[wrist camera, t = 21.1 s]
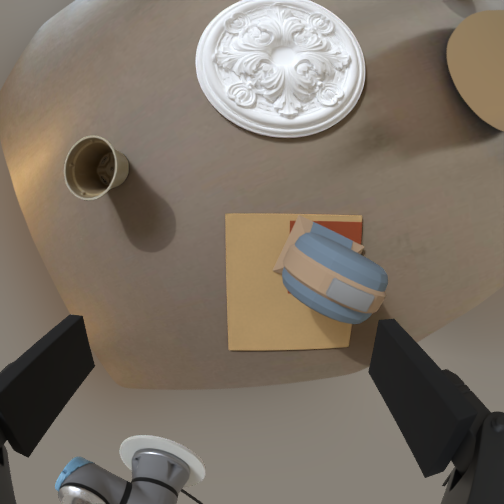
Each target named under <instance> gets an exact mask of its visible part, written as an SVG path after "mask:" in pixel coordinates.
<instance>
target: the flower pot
mask: <svg viewBox="0 0 504 504" xmlns="http://www.w3.org/2000/svg"><path fill="white" fill-rule="evenodd" d="M105 157H107V159H106V160H105V161H104V163H102V162H103V160H104V158H105ZM111 168H113V170H111ZM128 172H129V164H128V160H127V158H126V157H125V155H124V154H122V153H121V152H119V151H117V150H115V149H114V148H113V146H112V145H111V143H110V142H109V141H107V140H106V139H104V138H102V137H100V136H87V137H84V138H82V139H80V140H79V141H78V142H77V143H75V144H74V146H73V147H72V148H71V149H70V151H69V153H68V155H67V157H66V160H65V165H64V178H65V182H66V185H67V187H68V189H69V190H70V192H71V193H72V194H73V195H75V196H76V197H77V198H79V199H82V200H86V201H91V200H95V199H98V198H100V197H102V196H103V195H105V194H106V193H107V192H108V191H109V189H112V188H114V187H117V186H119V185H121V184H122V183H123V182H124V181H125V179H126V178H127V175H128ZM102 177H103V178H104V179H105V181H107V183H105V182H104V181H103V180H102Z"/></svg>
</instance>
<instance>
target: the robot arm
mask: <svg viewBox="0 0 504 504" xmlns="http://www.w3.org/2000/svg"><path fill="white" fill-rule="evenodd" d="M94 367H95V365H94V361H93V357H92V353H91V350H90V346H89V342H88V337H87V333H86V329H85V324H84V320H83V316H79V315H69V316H67V317H66V318H65V319H64V320H63V321H62V322H60V323H59V324H58V325H57V326H55V327H54V328H53V329H52V330H51V331H49V332H48V333H47V334H46V335H45V336H43V338H41V339H40V340H39V341H38V342H36V343H35V344H34V345H33V346H32V347H31V348H30V349H28V350H27V351H26V352H25V353H24V354H23V355H21V356H20V357H19V358H18V359H17V360H16V361H14V362H12V363H10V364H9V365H7V366H6V367H5V368H4V369H3V370H2V371H1V372H0V504H16V500H15V496H14V491H13V486H12V481H11V475H10V468H9V462H8V453H7V450H6V447H5V446H4V443H5V442H6V440H8V442H9V443H10V445H11V446H12V448H13V449H14V451H16V452H18V453H20V454H22V455H24V456H26V457H29V456H30V455H31V453H32V452H33V450H34V449H35V447H36V446H37V444H38V443H39V442H40V440H41V439H42V437H43V436H44V434H45V433H46V432H47V430H48V429H49V427H50V426H51V424H52V423H53V422H54V420H55V419H56V417H57V416H58V415H59V413H60V412H61V411H62V409H63V408H64V406H65V405H66V404H67V402H68V401H69V400H70V398H71V397H72V396H73V394H74V393H75V392H76V390H77V389H78V388H79V386H80V385H81V384H82V382H83V381H84V380H85V378H86V377H87V376H88V374H89V373H90V372H91V371H92V369H93V368H94ZM369 374H370V375H371V377H372V379H373V381H374V383H375V385H376V387H377V388H378V390H379V392H380V394H381V395H382V397H383V399H384V401H385V403H386V405H387V406H388V408H389V410H390V412H391V414H392V415H393V417H394V419H395V421H396V423H397V425H398V426H399V428H400V430H401V432H402V434H403V436H404V438H405V440H406V442H407V444H408V446H409V447H410V449H411V451H412V453H413V455H414V457H415V459H416V461H417V463H418V465H419V467H420V469H421V471H422V473H423V475H424V477H425V478H426V477H429V476H432V475H435V474H438V473H440V472H443V471H444V470H445V469H446V467H447V465H448V464H449V462H450V461H452V462H453V464H454V466H455V468H454V469H453V470H452V472H451V473H450V475H449V476H448V477H447V479H446V480H445V482H444V483H443V485H442V486H445V485H446V484H447V482H448V481H449V482H448V485H447V488H446V491H445V494H444V496H443V499H442V502H441V504H504V413H503V412H492V413H491V412H490V411H489V410H488V409H487V408H486V407H485V405H484V404H483V403H482V402H481V401H480V400H479V399H478V398H477V397H476V395H475V394H474V393H473V392H472V391H470V389H469V388H468V386H467V385H464V382H463V381H462V380H461V379H460V378H459V377H458V376H457V375H456V374H454V373H452V372H451V371H449V370H446V369H445V370H441V369H440V368H439V367H438V366H437V365H436V363H435V362H434V361H433V360H432V359H431V358H430V357H429V356H428V355H427V354H426V352H425V351H423V349H422V348H421V347H420V346H419V345H418V344H417V343H416V342H415V341H414V339H413V338H412V337H411V336H410V335H409V334H408V333H407V332H406V331H405V330H404V329H403V328H402V327H401V326H400V325H399V324H398V323H397V322H396V320H395V319H386V320H379V322H378V327H377V333H376V338H375V343H374V348H373V353H372V358H371V363H370V367H369ZM131 464H132V482H131V483H130V482H128V481H126V480H124V479H122V478H120V477H118V476H116V475H114V474H112V473H111V472H109V471H107V470H105V469H103V468H101V467H100V466H98V465H96V464H95V463H93V462H90V461H88V460H86V459H85V458H82V457H75V458H73V459H72V460H71V461H70V462H69V463H68V464H67V465H66V467H65V468H64V470H63V471H62V472H61V474H60V475H59V477H58V479H57V481H56V484H55V488H56V490H57V491H58V498H59V500H60V502H61V504H176V503H177V498H178V493H179V492H180V491H181V492H183V493H184V494H186V495H188V496H189V497H190V498H192V499H193V500H195V501H196V502H197V503H199V504H203V503H201V502H200V501H199V500H197V499H196V498H195V497H193V496H192V495H190V494H189V493H187V492H186V491H184V490H183V489H182V488H183V487H184V485H185V484H186V482H187V481H188V480H189V476H190V468H189V466H188V465H187V463H186V462H185V461H183V460H182V459H181V458H179V457H178V456H176V455H174V454H172V453H169V452H166V451H163V450H159V449H153V448H144V449H140V450H137V451H136V452H135V453H134V455H133V457H132V460H131Z"/></svg>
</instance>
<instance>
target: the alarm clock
mask: <svg viewBox="0 0 504 504" xmlns="http://www.w3.org/2000/svg"><path fill="white" fill-rule="evenodd" d="M363 249H364V246H362V245H360V244H358V243H356V242H354V241H352V240H350V239H348V238H346V237H344V236H342V235H340V234H338V233H336V232H334V231H332V230H330V229H328V228H326V227H323V226H321V225H319V224H317V223H315V222H313V221H311V220H309V219H307V218H305V217H302V216H300V215H298V218H297V220H296V222H295V224H294V226H293V228H292V230H291V233H290V235H289V237H288V239H287V241H286V243H285V245H284V247H283V250H282V252H281V254H280V256H279V258H278V260H277V262H276V264H275V266H274V268H273V271H275V272H277V273H279V274H282V279H283V284H284V286H285V287H286V289H287V290H288V291H289V292H290V293H291V294H292V295H293V296H294V297H295V298H297V299H298V300H299V301H300V302H302V303H303V304H305V305H306V306H308V307H309V308H311V309H313V310H314V311H316V312H318V313H320V314H322V315H324V316H326V317H329V318H331V319H334V320H337V321H340V322H344V323H349V324H359V323H361V322H363V321H365V320H367V319H368V318H369V317H370V316H371V314H372V313H375V312H377V311H378V309H379V307H380V306H381V304H382V302H383V300H384V299H385V297H386V293H385V289H386V287H387V284H388V278H387V274H386V272H385V271H384V269H383V268H382V267H380V266H379V265H378V264H376V263H374V262H373V261H371V260H369V259H368V258H366V257H364V256H362V255H361V253H362V251H363Z"/></svg>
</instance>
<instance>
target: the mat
mask: <svg viewBox="0 0 504 504" xmlns="http://www.w3.org/2000/svg"><path fill="white" fill-rule="evenodd" d="M298 215H300V216H302V217H305V218H307V219H309V220H311V221H313V222H315V223H317V224H319V225H321V226H323V227H326V228H328V229H330V230H332V231H334V232H336V233H338V234H340V235H342V236H344V237H346V238H348V239H350V240H352V241H354V242H356V243H358V244H360V245H361V234H362V216H359V215H325V214H225V224H226V280H227V316H228V345H229V350H302V349H324V348H340V347H349V341H350V334H351V327H352V324H349V323H344V322H340V321H337V320H334V319H331V318H329V317H326V316H324V315H322V314H320V313H318V312H316V311H314V310H313V309H311V308H309V307H308V306H306V305H305V304H303V303H302V302H300V301H299V300H298V299H297V298H295V297H294V296H293V295H292V294H291V293H290V292H289V291H288V290H287V289H286V287H285V286H284V284H283V279H282V274H279V273H277V272H275V271H273V268H274V266H275V264H276V262H277V260H278V258H279V256H280V254H281V252H282V250H283V247H284V245H285V243H286V241H287V239H288V237H289V235H290V233H291V230H292V228H293V226H294V224H295V222H296V220H297V218H298Z"/></svg>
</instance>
